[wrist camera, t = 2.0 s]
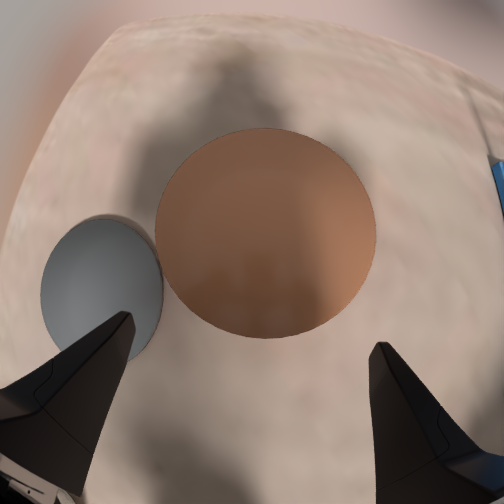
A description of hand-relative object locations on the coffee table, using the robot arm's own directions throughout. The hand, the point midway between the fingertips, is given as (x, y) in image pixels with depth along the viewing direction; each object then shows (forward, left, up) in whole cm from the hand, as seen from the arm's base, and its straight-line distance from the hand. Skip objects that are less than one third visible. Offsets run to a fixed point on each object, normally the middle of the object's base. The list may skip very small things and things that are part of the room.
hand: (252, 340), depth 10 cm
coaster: (-5, +12, -10) cm, 16 cm away
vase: (+3, +1, -10) cm, 11 cm away
